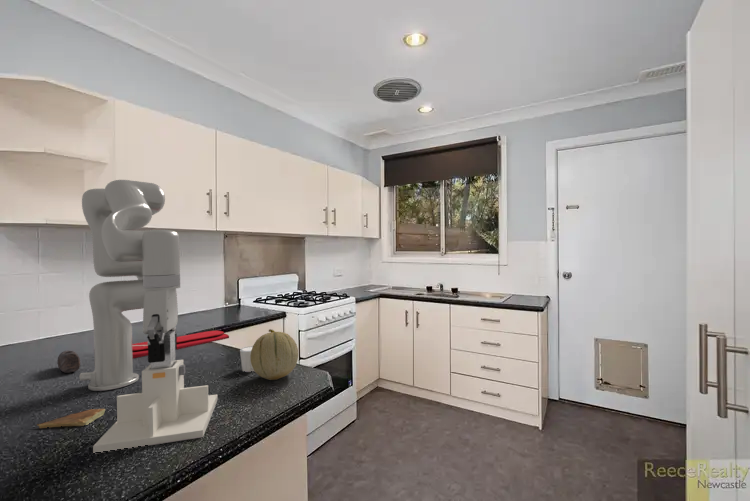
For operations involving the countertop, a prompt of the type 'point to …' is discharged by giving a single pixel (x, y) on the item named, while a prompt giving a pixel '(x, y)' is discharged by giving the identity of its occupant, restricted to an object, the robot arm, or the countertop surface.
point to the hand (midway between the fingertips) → (163, 355)
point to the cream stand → (159, 411)
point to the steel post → (167, 352)
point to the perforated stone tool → (68, 361)
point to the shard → (74, 419)
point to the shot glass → (246, 359)
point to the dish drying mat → (182, 342)
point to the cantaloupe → (274, 355)
